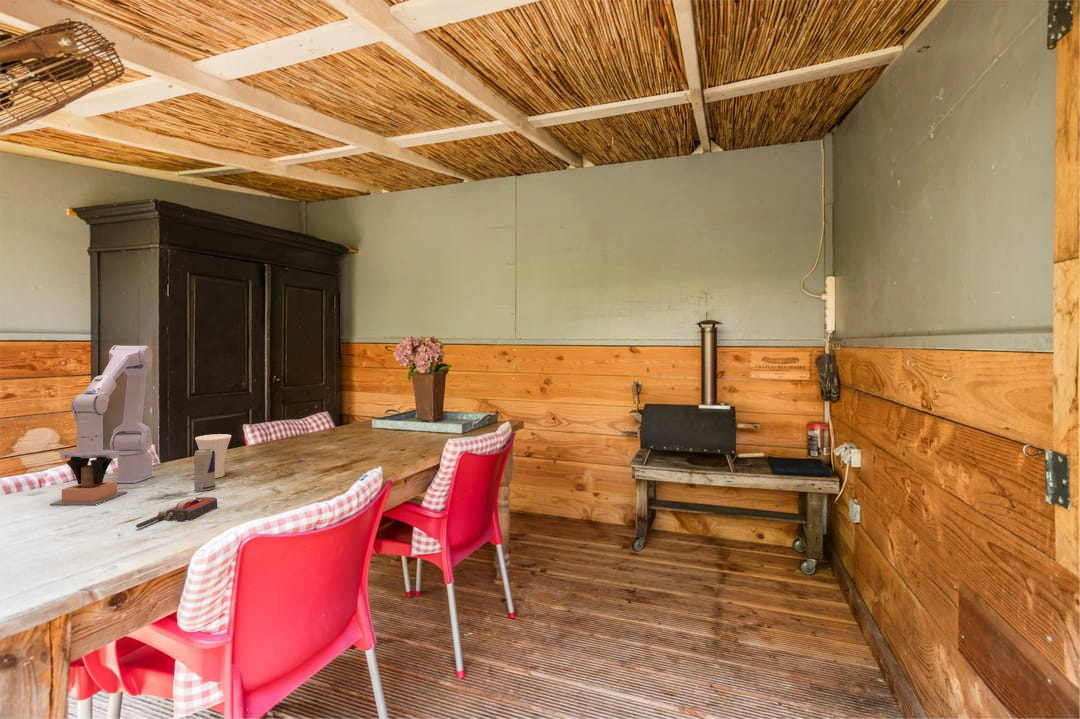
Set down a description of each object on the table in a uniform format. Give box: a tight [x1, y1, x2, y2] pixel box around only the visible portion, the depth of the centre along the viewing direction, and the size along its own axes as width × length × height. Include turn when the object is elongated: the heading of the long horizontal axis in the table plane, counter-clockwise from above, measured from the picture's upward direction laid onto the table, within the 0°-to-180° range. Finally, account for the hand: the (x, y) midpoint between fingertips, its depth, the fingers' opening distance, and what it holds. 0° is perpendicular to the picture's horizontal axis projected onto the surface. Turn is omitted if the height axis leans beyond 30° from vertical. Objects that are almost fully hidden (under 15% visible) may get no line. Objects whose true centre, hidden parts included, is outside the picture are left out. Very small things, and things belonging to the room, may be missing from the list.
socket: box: [49, 480, 128, 506], centre depth 149 cm, size 12×12×4 cm
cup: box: [194, 433, 232, 479], centre depth 176 cm, size 10×10×14 cm
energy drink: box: [193, 449, 216, 492], centre depth 161 cm, size 5×5×12 cm
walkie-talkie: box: [135, 496, 218, 529], centre depth 135 cm, size 9×4×20 cm
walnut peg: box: [81, 464, 100, 488], centre depth 149 cm, size 4×4×8 cm
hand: (90, 483), depth 149 cm, fingers closed on walnut peg, 4 cm apart
